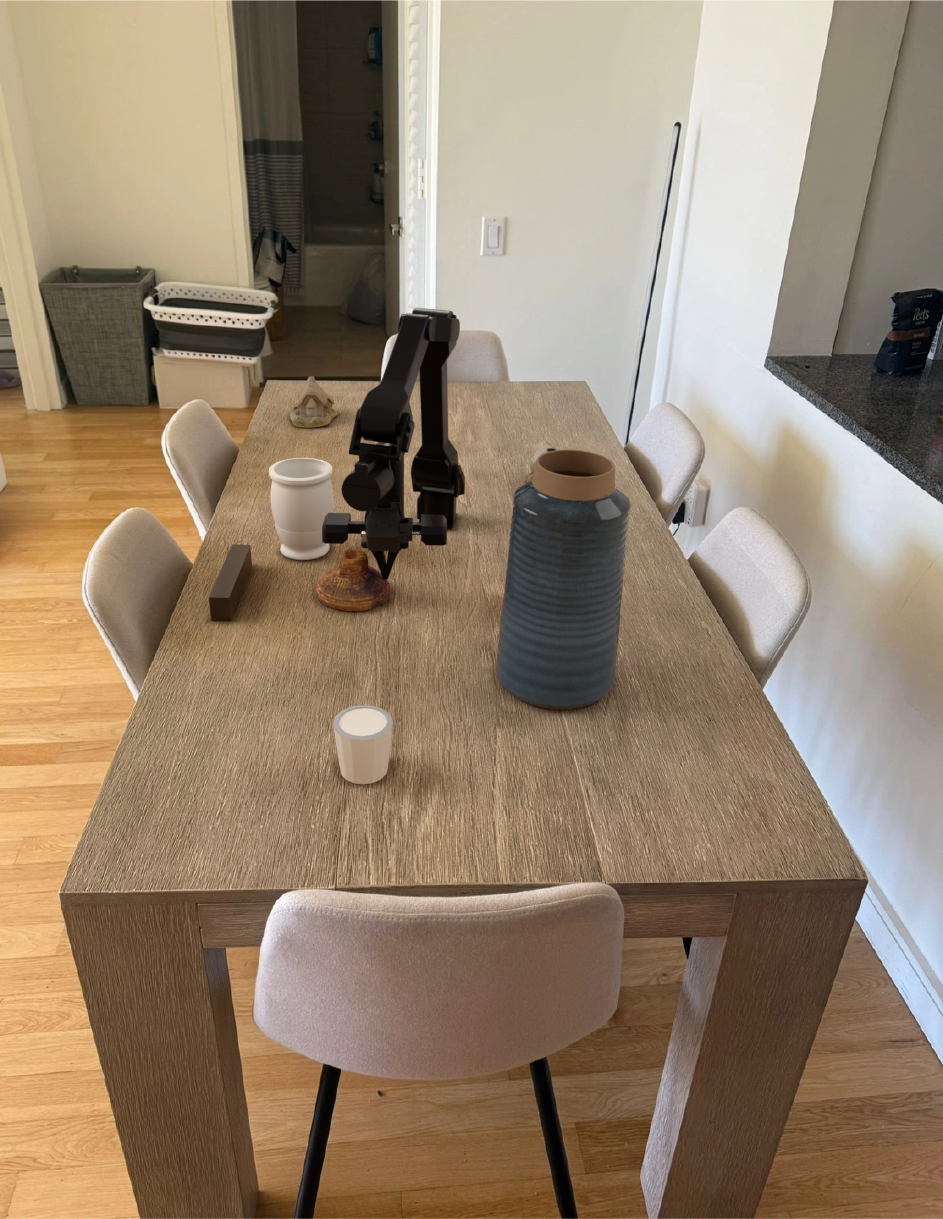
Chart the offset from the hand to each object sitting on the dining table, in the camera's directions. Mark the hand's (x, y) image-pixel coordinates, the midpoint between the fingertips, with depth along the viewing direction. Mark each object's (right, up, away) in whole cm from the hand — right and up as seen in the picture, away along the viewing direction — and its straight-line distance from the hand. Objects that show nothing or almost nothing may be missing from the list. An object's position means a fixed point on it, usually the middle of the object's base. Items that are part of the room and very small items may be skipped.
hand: (385, 578), depth 148 cm
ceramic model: (-24, +40, +75) cm, 88 cm away
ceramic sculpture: (+29, +19, +43) cm, 55 cm away
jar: (-15, +5, +14) cm, 22 cm away
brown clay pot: (-5, -3, +1) cm, 6 cm away
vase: (+25, -15, -17) cm, 34 cm away
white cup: (+1, -24, -36) cm, 43 cm away
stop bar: (-24, -2, +1) cm, 24 cm away
